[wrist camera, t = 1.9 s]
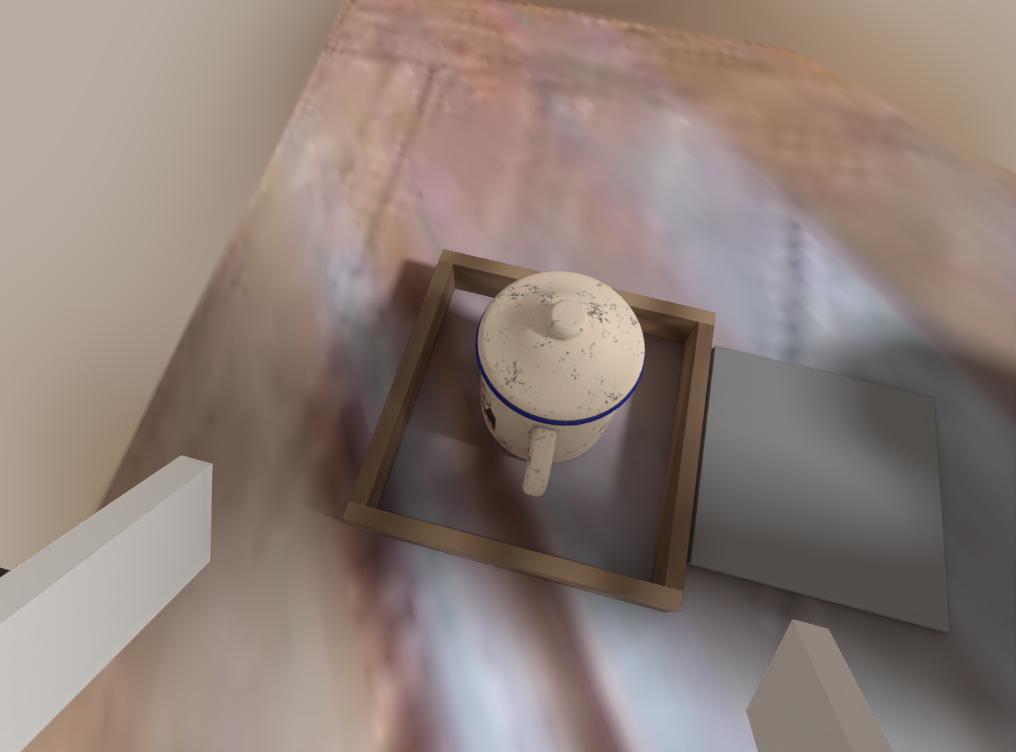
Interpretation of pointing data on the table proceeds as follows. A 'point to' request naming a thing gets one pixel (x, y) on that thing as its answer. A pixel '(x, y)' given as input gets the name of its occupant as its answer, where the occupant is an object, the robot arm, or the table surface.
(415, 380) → the wooden frame
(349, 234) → the table surface
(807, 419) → the rubber mat
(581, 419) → the teacup with lid
